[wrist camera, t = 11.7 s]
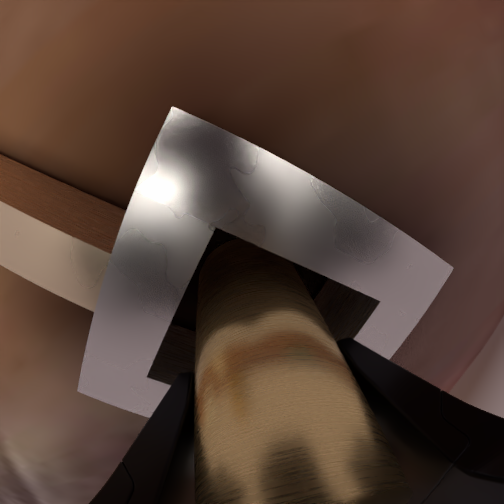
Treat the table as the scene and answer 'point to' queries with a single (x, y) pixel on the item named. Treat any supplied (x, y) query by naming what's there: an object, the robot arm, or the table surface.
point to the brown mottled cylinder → (279, 395)
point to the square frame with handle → (192, 248)
